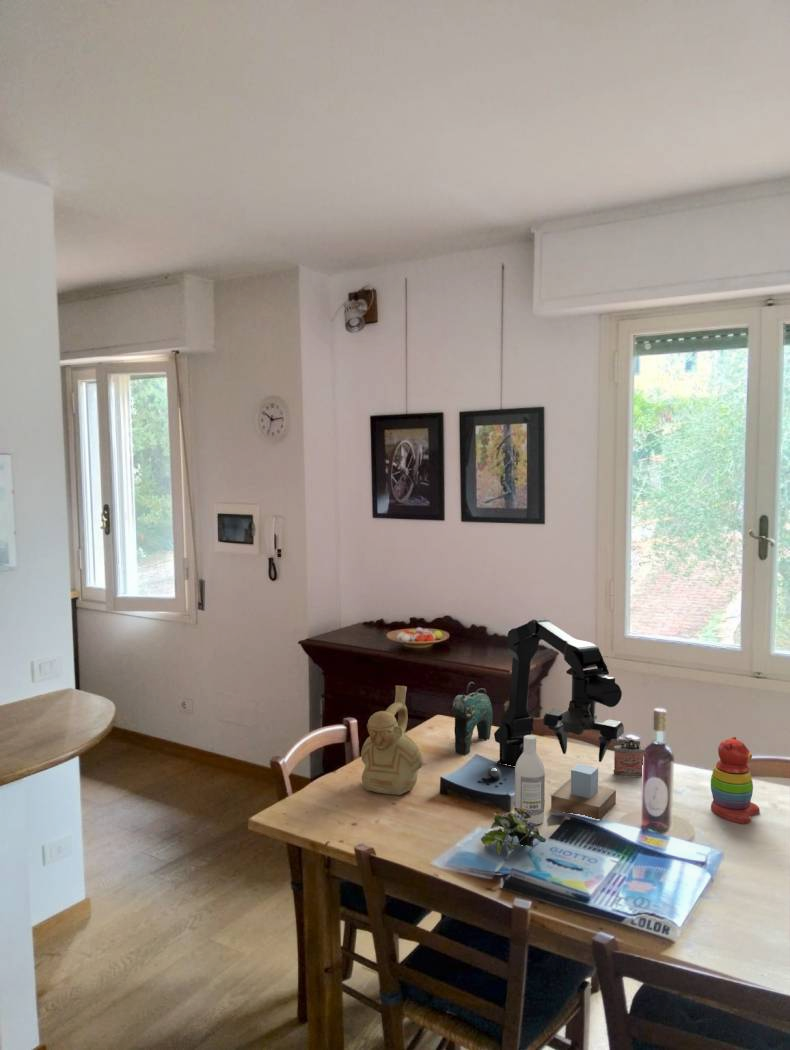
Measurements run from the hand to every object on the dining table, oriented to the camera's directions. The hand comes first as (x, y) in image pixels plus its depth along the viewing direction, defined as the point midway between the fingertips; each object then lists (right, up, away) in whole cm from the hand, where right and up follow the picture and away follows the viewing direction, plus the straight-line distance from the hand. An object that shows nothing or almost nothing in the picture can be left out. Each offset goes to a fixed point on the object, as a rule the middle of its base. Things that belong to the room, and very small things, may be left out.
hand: (582, 757), depth 191 cm
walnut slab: (0, -12, -1) cm, 12 cm away
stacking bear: (+35, -12, -4) cm, 38 cm away
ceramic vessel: (-47, -11, +12) cm, 50 cm away
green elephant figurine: (-23, -9, +42) cm, 49 cm away
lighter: (+17, -11, +19) cm, 28 cm away
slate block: (0, -8, -1) cm, 8 cm away
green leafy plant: (-21, -14, -24) cm, 35 cm away
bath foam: (-14, -13, -8) cm, 21 cm away
